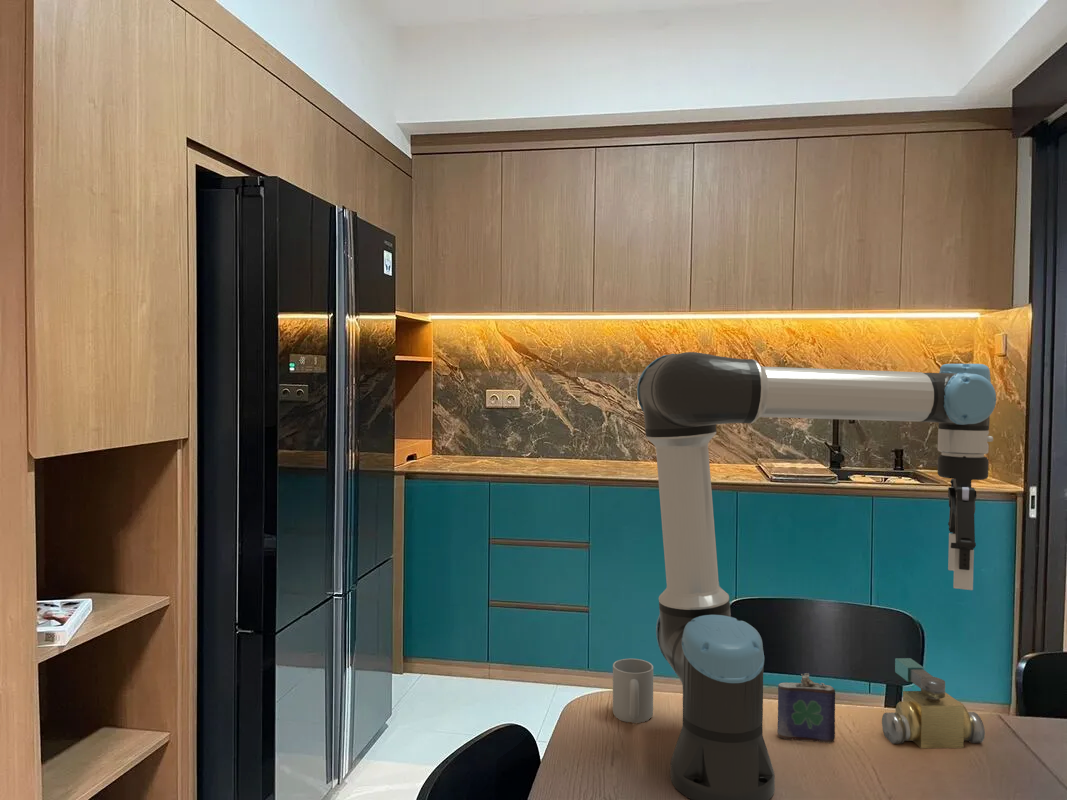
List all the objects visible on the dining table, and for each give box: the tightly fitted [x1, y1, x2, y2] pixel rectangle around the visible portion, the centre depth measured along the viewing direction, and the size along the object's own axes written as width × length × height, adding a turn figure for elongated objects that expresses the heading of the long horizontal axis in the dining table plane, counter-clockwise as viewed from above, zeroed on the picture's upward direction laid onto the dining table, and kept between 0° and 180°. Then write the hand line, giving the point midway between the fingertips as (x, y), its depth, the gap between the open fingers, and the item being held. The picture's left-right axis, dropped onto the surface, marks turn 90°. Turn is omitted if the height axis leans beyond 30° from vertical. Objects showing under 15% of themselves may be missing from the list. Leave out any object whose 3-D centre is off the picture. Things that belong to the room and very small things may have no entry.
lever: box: [894, 657, 946, 698], centre depth 131 cm, size 12×4×2 cm, turn 1°
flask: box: [777, 672, 836, 744], centre depth 128 cm, size 9×3×11 cm, turn 80°
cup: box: [612, 658, 654, 724], centre depth 136 cm, size 7×10×9 cm
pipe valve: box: [881, 690, 986, 749], centre depth 127 cm, size 15×6×8 cm, turn 91°
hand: (959, 579), depth 129 cm, fingers open, 13 cm apart
